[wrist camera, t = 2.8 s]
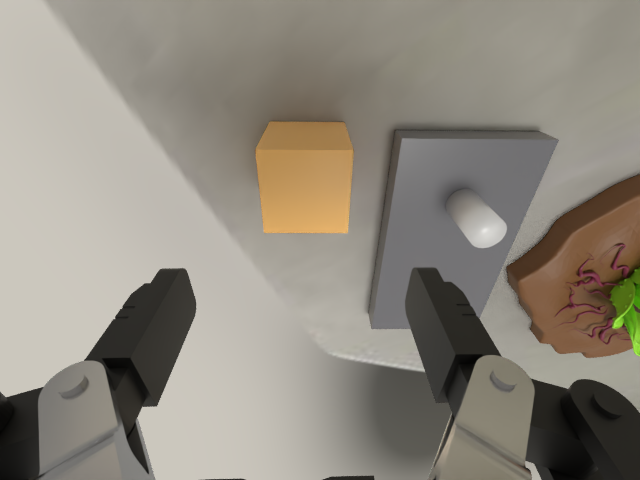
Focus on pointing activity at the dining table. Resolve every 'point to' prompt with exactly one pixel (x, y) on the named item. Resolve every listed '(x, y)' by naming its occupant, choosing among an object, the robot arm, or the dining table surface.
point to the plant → (586, 276)
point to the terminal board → (438, 231)
